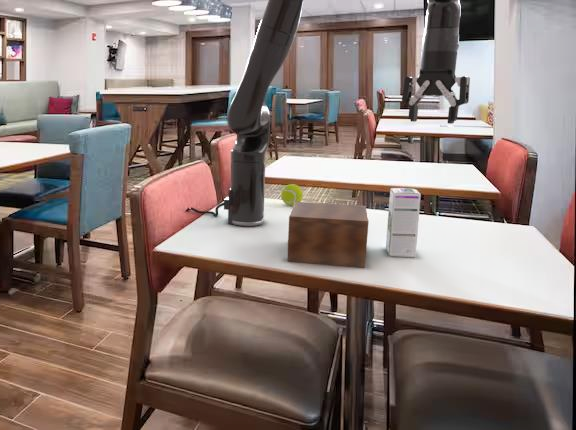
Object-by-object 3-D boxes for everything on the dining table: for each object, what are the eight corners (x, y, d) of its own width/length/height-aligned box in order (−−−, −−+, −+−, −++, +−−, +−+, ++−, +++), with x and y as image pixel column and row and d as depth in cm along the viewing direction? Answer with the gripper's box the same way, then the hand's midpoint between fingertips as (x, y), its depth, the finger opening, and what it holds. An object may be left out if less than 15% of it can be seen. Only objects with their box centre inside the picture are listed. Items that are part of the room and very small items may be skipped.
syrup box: (416, 257, 119) (422, 193, 115) (387, 256, 120) (393, 192, 116) (411, 250, 124) (417, 188, 121) (384, 248, 125) (389, 187, 122)
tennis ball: (278, 206, 168) (278, 185, 166) (283, 202, 174) (284, 181, 172) (299, 208, 165) (300, 186, 163) (304, 204, 171) (305, 183, 169)
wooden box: (287, 261, 116) (289, 216, 114) (293, 242, 130) (295, 201, 128) (364, 267, 112) (368, 221, 110) (362, 247, 126) (365, 205, 124)
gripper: (401, 50, 125) (395, 121, 128) (467, 48, 115) (458, 124, 119) (414, 51, 130) (408, 120, 134) (478, 49, 120) (469, 123, 124)
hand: (431, 122), depth 126 cm, fingers open, 8 cm apart
